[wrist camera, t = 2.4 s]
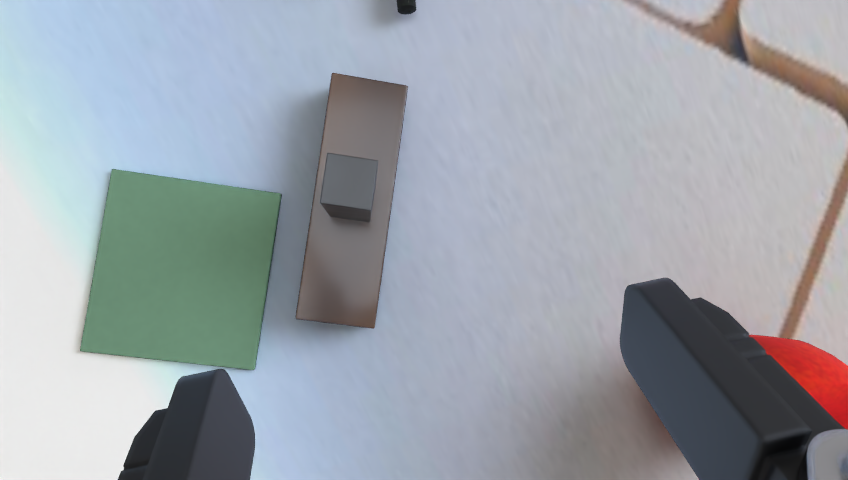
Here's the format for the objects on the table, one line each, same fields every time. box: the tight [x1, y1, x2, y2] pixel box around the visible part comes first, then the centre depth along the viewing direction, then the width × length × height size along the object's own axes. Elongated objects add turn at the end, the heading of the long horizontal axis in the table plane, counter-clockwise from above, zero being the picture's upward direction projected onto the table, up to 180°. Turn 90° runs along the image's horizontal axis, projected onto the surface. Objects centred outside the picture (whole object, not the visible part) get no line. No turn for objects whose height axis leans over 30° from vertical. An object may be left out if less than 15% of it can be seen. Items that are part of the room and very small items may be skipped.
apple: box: [749, 335, 848, 430], centre depth 31 cm, size 10×10×12 cm
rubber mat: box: [80, 169, 282, 370], centre depth 33 cm, size 11×12×1 cm
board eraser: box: [295, 73, 408, 328], centre depth 30 cm, size 5×16×10 cm, turn 172°
